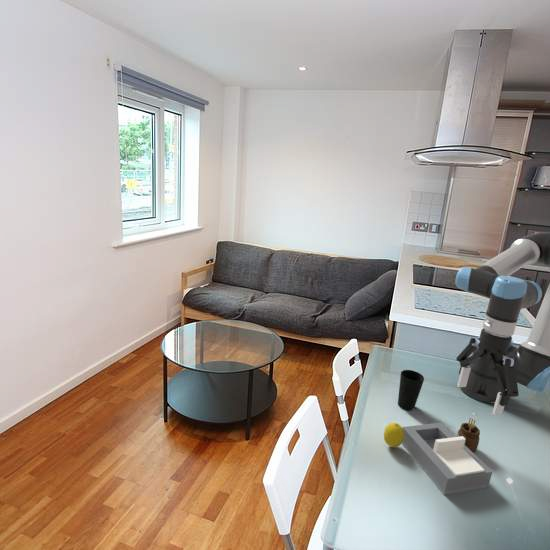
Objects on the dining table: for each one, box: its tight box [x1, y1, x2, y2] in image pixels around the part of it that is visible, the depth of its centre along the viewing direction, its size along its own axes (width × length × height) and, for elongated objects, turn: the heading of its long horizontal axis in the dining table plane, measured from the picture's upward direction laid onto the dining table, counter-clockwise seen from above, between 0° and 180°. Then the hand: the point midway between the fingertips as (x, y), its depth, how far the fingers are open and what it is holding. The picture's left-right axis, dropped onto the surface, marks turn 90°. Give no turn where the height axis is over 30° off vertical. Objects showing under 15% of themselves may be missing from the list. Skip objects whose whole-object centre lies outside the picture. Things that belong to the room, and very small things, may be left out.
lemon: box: [383, 422, 404, 448], centre depth 112 cm, size 6×6×8 cm
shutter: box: [433, 436, 485, 476], centre depth 102 cm, size 9×9×4 cm
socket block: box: [401, 422, 493, 496], centre depth 108 cm, size 14×20×5 cm
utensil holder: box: [456, 412, 481, 454], centre depth 114 cm, size 6×6×12 cm
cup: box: [397, 369, 425, 412], centre depth 133 cm, size 8×8×12 cm
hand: (478, 399), depth 111 cm, fingers open, 13 cm apart
